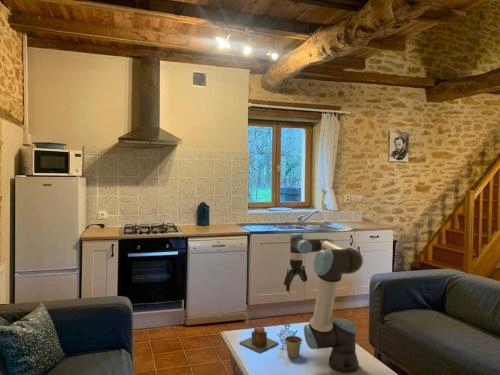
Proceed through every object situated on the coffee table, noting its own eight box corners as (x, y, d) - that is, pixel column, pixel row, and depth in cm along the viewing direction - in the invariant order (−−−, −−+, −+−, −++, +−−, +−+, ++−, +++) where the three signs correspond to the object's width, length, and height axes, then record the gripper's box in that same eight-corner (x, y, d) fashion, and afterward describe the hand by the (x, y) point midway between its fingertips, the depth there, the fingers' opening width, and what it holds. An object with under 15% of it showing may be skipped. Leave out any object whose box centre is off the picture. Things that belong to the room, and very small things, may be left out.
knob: (266, 342, 213) (266, 328, 213) (259, 345, 209) (259, 331, 209) (259, 339, 218) (259, 325, 217) (251, 342, 213) (251, 328, 213)
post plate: (278, 344, 213) (278, 335, 213) (259, 353, 202) (259, 343, 202) (258, 335, 224) (258, 327, 224) (239, 343, 213) (239, 334, 213)
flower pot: (301, 360, 195) (301, 343, 195) (283, 358, 197) (283, 342, 197) (302, 352, 204) (302, 336, 204) (285, 350, 206) (285, 335, 206)
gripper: (303, 255, 233) (303, 288, 233) (277, 260, 215) (277, 296, 216) (313, 257, 228) (313, 291, 228) (287, 263, 210) (287, 300, 210)
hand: (295, 294), depth 222 cm, fingers open, 13 cm apart
